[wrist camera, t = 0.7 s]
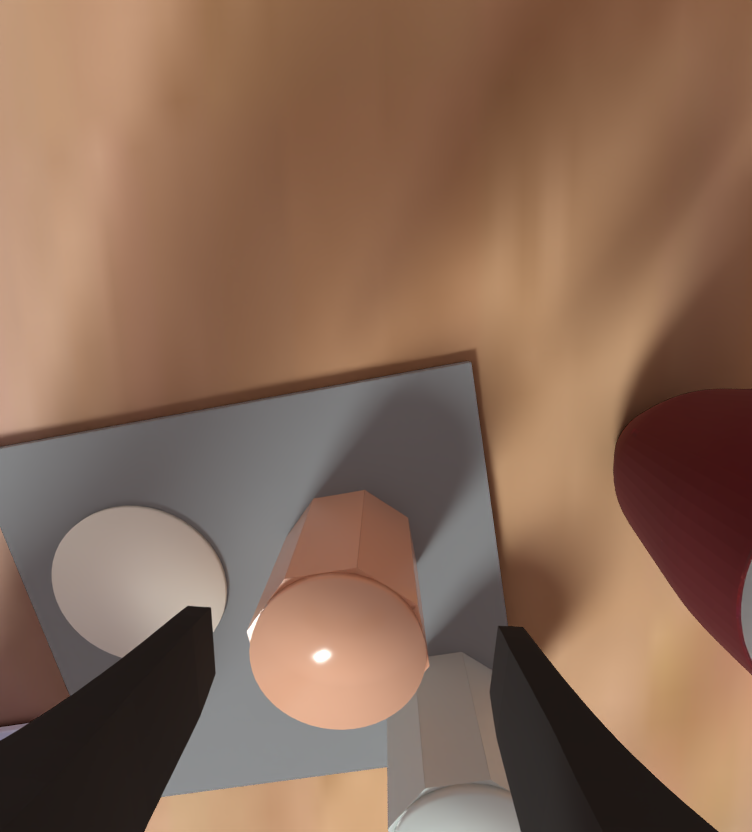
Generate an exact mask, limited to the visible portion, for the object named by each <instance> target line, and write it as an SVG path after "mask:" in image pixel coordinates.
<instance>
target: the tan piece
mask: <svg viewBox="0 0 752 832" xmlns="http://www.w3.org/2000/svg"><path fill="white" fill-rule="evenodd" d="M247 634H248V638H249V641H250V649H249V654H250V664H251V668H252V672H253V675H254V677H255V680H256V682H257V684H258V685H259V687H260V689H261V690H262V692H263V693H264V694H265V696H266V697H267V698H268V699H269V700H270V701H271V702H272V703H273V704H274V705H275V706H276V707H277V708H279V709H280V710H281V711H282V712H284V713H286V714H287V715H289V716H290V717H292V718H294V719H296V720H298V721H300V722H303V723H306V724H309V725H311V726H316V727H320V728H326V729H337V730H346V729H356V728H361V727H366V726H369V725H372V724H376V723H378V722H380V721H382V720H385V719H387V718H388V717H390V716H392V715H393V714H395V713H396V712H397V711H399V710H400V709H401V708H403V707H404V706H405V705H406V704H407V703H408V702H409V701H410V699H411V698H412V697H413V695H414V694H415V693H416V691H417V689H418V687H419V685H420V684H421V681H422V678H423V675H424V672H425V671H426V670H427V669H428V667H429V666H430V665H429V657H428V649H427V641H426V634H425V626H424V618H423V610H422V602H421V594H420V587H419V579H418V571H417V563H416V558H415V552H414V547H413V542H412V536H411V531H410V526H409V520H408V517H406V516H405V515H403V514H402V513H400V512H398V511H397V510H395V509H394V508H392V507H391V506H389V505H388V504H386V503H384V502H383V501H381V500H380V499H378V498H377V497H375V496H374V495H372V494H370V493H369V492H367V491H366V490H361V491H355V492H350V493H344V494H338V495H332V496H326V497H320V498H314V499H313V500H312V501H311V503H310V504H309V506H308V507H307V508H306V510H305V511H304V513H303V514H302V515H301V517H300V518H299V520H298V521H297V523H296V524H295V525H294V527H293V528H292V530H291V531H290V533H289V534H288V535H287V537H286V539H285V541H284V543H283V546H282V548H281V551H280V553H279V555H278V558H277V560H276V563H275V565H274V567H273V570H272V572H271V574H270V577H269V579H268V582H267V584H266V586H265V589H264V591H263V594H262V596H261V598H260V601H259V603H258V606H257V608H256V610H255V613H254V615H253V617H252V620H251V622H250V625H249V627H248V629H247Z"/></svg>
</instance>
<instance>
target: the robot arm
mask: <svg viewBox="0 0 752 832" xmlns="http://www.w3.org/2000/svg"><path fill="white" fill-rule="evenodd" d="M215 674H216V671H215V656H214V642H213V628H212V613H211V607H198V606H187V607H185V608H184V609H183V610H181V611H180V612H179V613H178V614H176V615H175V616H174V617H173V618H171V619H170V620H169V621H168V622H166V623H165V624H164V625H163V626H162V627H160V628H159V629H158V630H157V631H155V632H154V633H153V634H152V635H150V636H149V637H148V638H147V639H146V640H144V641H143V642H142V643H140V644H139V645H138V646H137V647H135V648H134V649H133V650H132V651H130V652H129V653H128V654H126V655H125V656H124V657H123V658H121V659H120V660H119V661H118V662H116V663H115V664H114V665H112V666H111V667H110V668H108V669H107V670H105V671H104V672H103V673H101V674H100V675H99V676H97V677H96V678H94V679H93V680H92V681H90V682H89V683H88V684H86V685H85V686H84V687H82V688H81V689H79V690H78V691H77V692H75V693H74V694H73V695H71V696H70V697H68V698H67V699H65V700H64V701H62V702H61V703H59V704H58V705H56V706H55V707H53V708H52V709H50V710H49V711H47V712H46V713H44V714H43V715H41V716H39V717H38V718H36V719H35V720H33V721H32V722H30V723H26V724H19V725H12V726H5V727H0V832H144V831H145V829H146V827H147V824H148V822H149V820H150V818H151V816H152V814H153V812H154V810H155V808H156V806H157V804H158V802H159V800H160V798H161V796H162V794H163V792H164V790H165V788H166V786H167V784H168V782H169V780H170V778H171V776H172V774H173V771H174V769H175V767H176V765H177V763H178V761H179V759H180V757H181V755H182V753H183V751H184V749H185V747H186V745H187V743H188V741H189V739H190V737H191V735H192V733H193V731H194V729H195V726H196V724H197V722H198V720H199V718H200V716H201V713H202V710H203V708H204V705H205V702H206V700H207V697H208V694H209V691H210V688H211V686H212V683H213V680H214V677H215ZM489 693H490V700H491V706H492V713H493V720H494V726H495V732H496V738H497V742H498V746H499V750H500V754H501V758H502V762H503V766H504V769H505V773H506V777H507V781H508V785H509V788H510V792H511V796H512V800H513V804H514V807H515V811H516V815H517V819H518V823H519V826H520V830H521V832H718V831H717V830H716V829H715V828H713V827H712V826H711V825H710V824H709V823H707V822H706V821H705V820H704V819H703V818H702V817H700V816H699V815H698V814H697V813H696V812H695V811H693V810H692V809H691V808H690V807H689V806H687V805H686V804H685V803H684V802H683V801H682V800H680V799H679V798H678V797H677V796H676V795H675V794H674V793H673V792H672V791H670V790H669V789H668V788H667V787H666V786H665V785H664V784H663V783H662V782H660V781H659V780H658V779H657V778H656V777H655V776H654V775H653V774H652V773H651V772H650V771H649V770H648V769H647V768H646V767H645V766H644V765H643V764H642V763H641V762H639V761H638V760H637V759H636V758H635V757H634V756H633V755H632V754H631V753H630V752H629V751H628V750H627V749H626V748H625V747H624V746H623V745H622V744H621V743H620V742H619V741H618V740H617V739H616V738H615V736H614V735H613V734H612V733H611V732H610V731H609V730H608V729H607V728H606V727H605V726H604V725H603V724H602V722H601V721H600V720H599V719H598V718H597V717H596V716H595V715H594V714H593V712H592V711H591V710H590V709H589V708H588V707H587V706H586V704H585V703H584V702H583V701H582V700H581V699H580V697H579V696H578V695H577V694H576V693H575V691H574V690H573V689H572V688H571V687H570V686H569V684H568V683H567V682H566V681H565V680H564V678H563V677H562V676H561V675H560V673H559V672H558V671H557V670H556V668H555V667H554V666H553V665H552V663H551V662H550V661H549V660H548V658H547V657H546V656H545V655H544V653H543V652H542V651H541V649H540V648H539V647H538V645H537V644H536V643H535V642H534V640H533V639H532V638H531V636H530V635H529V634H528V633H527V631H526V630H525V629H524V628H523V627H512V626H498V629H497V637H496V645H495V653H494V661H493V669H492V676H491V684H490V692H489Z"/></svg>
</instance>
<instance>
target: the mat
mask: <svg viewBox="0 0 752 832" xmlns="http://www.w3.org/2000/svg"><path fill="white" fill-rule="evenodd" d="M361 490H366V491H367V492H369V493H370V494H372V495H374V496H375V497H377V498H378V499H380V500H381V501H383V502H384V503H386V504H388V505H389V506H391V507H392V508H394V509H395V510H397V511H398V512H400V513H402V514H403V515H405V516H406V517H408V520H409V526H410V531H411V536H412V542H413V547H414V552H415V558H416V563H417V571H418V579H419V587H420V594H421V602H422V610H423V618H424V626H425V634H426V641H427V649H428V657H429V656H436V655H443V654H450V653H457V652H463V653H465V654H466V655H468V656H470V657H471V658H473V659H474V660H476V661H478V662H479V663H481V664H483V665H484V666H486V667H488V668H489V669H491V670H492V669H493V661H494V653H495V645H496V637H497V629H498V626H508V623H507V616H506V608H505V601H504V594H503V587H502V580H501V572H500V565H499V558H498V551H497V544H496V536H495V529H494V522H493V515H492V508H491V501H490V493H489V486H488V479H487V472H486V465H485V457H484V450H483V443H482V436H481V429H480V421H479V414H478V407H477V400H476V393H475V385H474V378H473V371H472V364H471V362H470V361H464V362H459V363H454V364H448V365H443V366H437V367H432V368H426V369H421V370H415V371H410V372H405V373H399V374H394V375H388V376H383V377H377V378H372V379H366V380H361V381H356V382H350V383H345V384H339V385H334V386H328V387H323V388H317V389H312V390H307V391H301V392H296V393H290V394H285V395H279V396H274V397H268V398H263V399H258V400H252V401H247V402H241V403H236V404H230V405H225V406H219V407H214V408H208V409H203V410H198V411H192V412H187V413H181V414H176V415H170V416H165V417H159V418H154V419H149V420H143V421H138V422H132V423H127V424H121V425H116V426H110V427H105V428H100V429H94V430H89V431H83V432H78V433H72V434H67V435H61V436H56V437H51V438H45V439H40V440H34V441H29V442H23V443H18V444H12V445H7V446H1V447H0V528H1V530H2V533H3V535H4V538H5V540H6V542H7V545H8V547H9V550H10V552H11V555H12V557H13V559H14V562H15V564H16V567H17V569H18V571H19V574H20V576H21V579H22V581H23V583H24V586H25V588H26V591H27V593H28V596H29V598H30V600H31V603H32V605H33V608H34V610H35V612H36V615H37V617H38V620H39V622H40V624H41V627H42V629H43V632H44V634H45V637H46V639H47V641H48V644H49V646H50V649H51V651H52V653H53V656H54V658H55V661H56V663H57V666H58V668H59V670H60V673H61V675H62V678H63V680H64V682H65V685H66V687H67V690H68V692H69V694H70V696H71V695H73V694H74V693H75V692H77V691H78V690H79V689H81V688H82V687H84V686H85V685H86V684H88V683H89V682H90V681H92V680H93V679H94V678H96V677H97V676H99V675H100V674H101V673H103V672H104V671H105V670H107V669H108V668H110V667H111V666H112V665H114V664H115V663H116V662H118V661H119V660H120V659H121V657H118V656H115V655H112V654H110V653H108V652H106V651H104V650H101V649H100V648H98V647H96V646H95V645H93V644H91V643H90V642H89V641H87V640H86V639H85V638H84V637H82V636H81V635H80V634H79V633H78V632H77V631H76V630H75V629H74V628H73V627H72V626H71V624H70V623H69V622H68V621H67V619H66V618H65V616H64V615H63V613H62V611H61V609H60V607H59V605H58V603H57V601H56V598H55V595H54V591H53V586H52V564H53V559H54V556H55V552H56V550H57V548H58V546H59V544H60V542H61V541H62V539H63V538H64V536H65V535H66V534H67V533H68V532H69V531H70V530H71V529H72V528H73V527H74V526H75V525H77V524H78V523H79V522H80V521H82V520H83V519H85V518H86V517H88V516H90V515H92V514H93V513H96V512H98V511H101V510H104V509H107V508H111V507H117V506H126V505H128V506H144V507H150V508H154V509H158V510H162V511H164V512H167V513H169V514H172V515H174V516H176V517H178V518H180V519H182V520H183V521H185V522H186V523H188V524H189V525H191V526H192V527H193V528H195V529H196V530H197V531H198V532H199V533H200V534H202V536H203V537H204V538H205V539H206V540H207V541H208V542H209V543H210V545H211V546H212V548H213V549H214V550H215V552H216V554H217V556H218V557H219V559H220V561H221V564H222V566H223V569H224V572H225V577H226V581H227V601H226V605H225V610H224V612H223V615H222V617H221V620H220V622H219V624H218V625H217V627H216V629H215V630H214V632H213V642H214V656H215V671H216V674H215V677H214V680H213V683H212V686H211V688H210V691H209V694H208V697H207V700H206V702H205V705H204V708H203V710H202V713H201V716H200V718H199V720H198V722H197V724H196V726H195V729H194V731H193V733H192V735H191V737H190V739H189V741H188V743H187V745H186V747H185V749H184V751H183V753H182V755H181V757H180V759H179V761H178V763H177V765H176V767H175V769H174V771H173V774H172V776H171V778H170V780H169V782H168V784H167V786H166V788H165V790H164V792H163V794H162V796H161V797H165V796H172V795H180V794H187V793H195V792H202V791H210V790H218V789H225V788H233V787H240V786H248V785H255V784H263V783H270V782H278V781H286V780H293V779H301V778H308V777H316V776H323V775H331V774H338V773H346V772H353V771H361V770H369V769H376V768H384V767H387V719H385V720H382V721H380V722H378V723H376V724H372V725H369V726H366V727H361V728H356V729H346V730H337V729H326V728H320V727H316V726H311V725H309V724H306V723H303V722H300V721H298V720H296V719H294V718H292V717H290V716H289V715H287V714H286V713H284V712H282V711H281V710H280V709H279V708H277V707H276V706H275V705H274V704H273V703H272V702H271V701H270V700H269V699H268V698H267V697H266V696H265V694H264V693H263V692H262V690H261V689H260V687H259V685H258V684H257V682H256V680H255V677H254V675H253V672H252V668H251V664H250V654H249V649H250V641H249V638H248V634H247V629H248V627H249V625H250V622H251V620H252V617H253V615H254V613H255V610H256V608H257V606H258V603H259V601H260V598H261V596H262V594H263V591H264V589H265V586H266V584H267V582H268V579H269V577H270V574H271V572H272V570H273V567H274V565H275V563H276V560H277V558H278V555H279V553H280V551H281V548H282V546H283V543H284V541H285V539H286V537H287V535H288V534H289V533H290V531H291V530H292V528H293V527H294V525H295V524H296V523H297V521H298V520H299V518H300V517H301V515H302V514H303V513H304V511H305V510H306V508H307V507H308V506H309V504H310V503H311V501H312V500H313V499H314V498H320V497H326V496H332V495H338V494H344V493H350V492H355V491H361Z"/></svg>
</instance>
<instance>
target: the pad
mask: <svg viewBox="0 0 752 832" xmlns="http://www.w3.org/2000/svg"><path fill="white" fill-rule="evenodd" d="M52 586H53V591H54V595H55V598H56V601H57V603H58V605H59V607H60V609H61V611H62V613H63V615H64V616H65V618H66V619H67V621H68V622H69V623H70V624H71V626H72V627H73V628H74V629H75V630H76V631H77V632H78V633H79V634H80V635H81V636H82V637H84V638H85V639H86V640H87V641H89V642H90V643H91V644H93V645H95V646H96V647H98V648H100V649H101V650H104V651H106V652H108V653H110V654H112V655H115V656H118V657H121V658H123V657H124V656H125V655H126V654H128V653H129V652H130V651H132V650H133V649H134V648H135V647H137V646H138V645H139V644H140V643H142V642H143V641H144V640H146V639H147V638H148V637H149V636H150V635H152V634H153V633H154V632H155V631H157V630H158V629H159V628H160V627H162V626H163V625H164V624H165V623H166V622H168V621H169V620H170V619H171V618H173V617H174V616H175V615H176V614H178V613H179V612H180V611H181V610H183V609H184V608H185V607H187V606H198V607H211V613H212V628H213V632H214V630H215V629H216V627H217V625H218V624H219V622H220V620H221V617H222V615H223V612H224V610H225V605H226V601H227V581H226V577H225V572H224V569H223V566H222V564H221V561H220V559H219V557H218V556H217V554H216V552H215V550H214V549H213V548H212V546H211V545H210V543H209V542H208V541H207V540H206V539H205V538H204V537H203V536H202V534H200V533H199V532H198V531H197V530H196V529H195V528H193V527H192V526H191V525H189V524H188V523H186V522H185V521H183V520H182V519H180V518H178V517H176V516H174V515H172V514H169V513H167V512H164V511H162V510H158V509H154V508H150V507H144V506H128V505H126V506H117V507H111V508H107V509H104V510H101V511H98V512H96V513H93V514H92V515H90V516H88V517H86V518H85V519H83V520H82V521H80V522H79V523H78V524H77V525H75V526H74V527H73V528H72V529H71V530H70V531H69V532H68V533H67V534H66V535H65V536H64V538H63V539H62V541H61V542H60V544H59V546H58V548H57V550H56V552H55V556H54V559H53V564H52Z"/></svg>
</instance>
